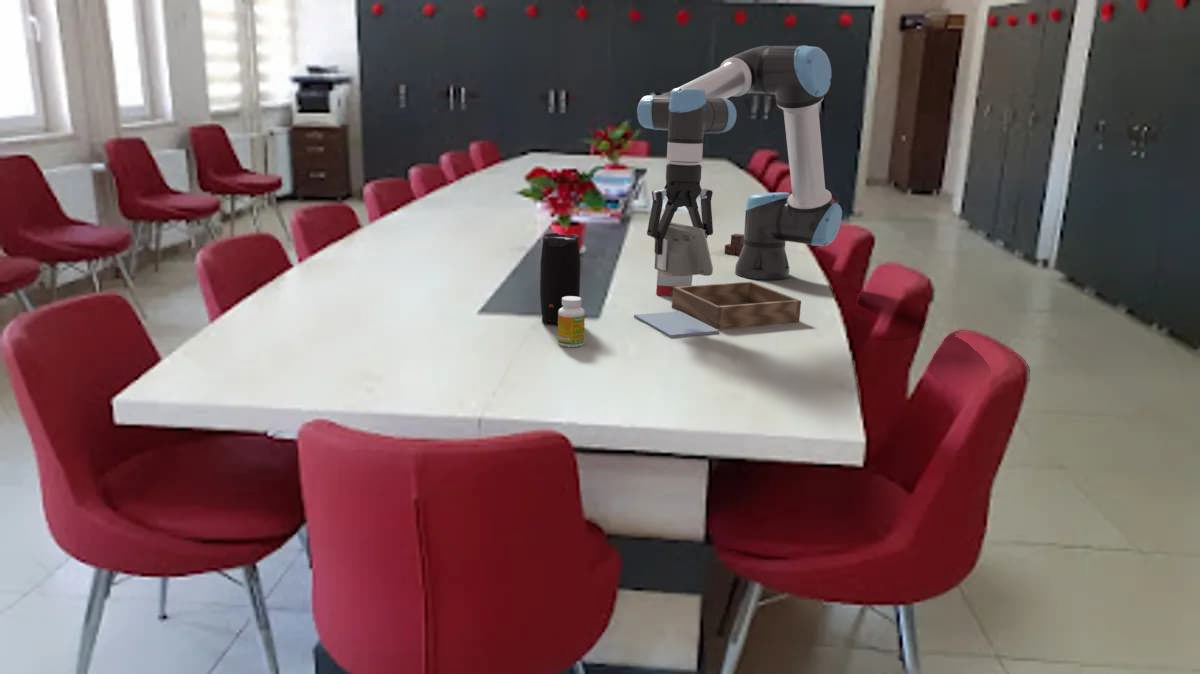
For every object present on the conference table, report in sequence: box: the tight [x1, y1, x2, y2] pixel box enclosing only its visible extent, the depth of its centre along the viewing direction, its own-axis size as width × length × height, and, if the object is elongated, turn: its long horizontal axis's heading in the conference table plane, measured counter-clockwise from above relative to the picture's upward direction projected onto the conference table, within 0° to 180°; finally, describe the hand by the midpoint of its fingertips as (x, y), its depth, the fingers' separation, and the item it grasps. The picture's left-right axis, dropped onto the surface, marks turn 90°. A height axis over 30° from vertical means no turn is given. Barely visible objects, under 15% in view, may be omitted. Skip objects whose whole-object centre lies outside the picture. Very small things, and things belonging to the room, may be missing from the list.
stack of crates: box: [723, 233, 744, 257], centre depth 295 cm, size 15×15×7 cm
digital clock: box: [654, 221, 714, 277], centre depth 204 cm, size 16×9×11 cm, turn 23°
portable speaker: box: [539, 232, 581, 324], centre depth 205 cm, size 9×9×20 cm
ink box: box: [655, 270, 694, 297], centre depth 238 cm, size 9×9×12 cm
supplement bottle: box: [557, 296, 586, 348], centre depth 190 cm, size 5×5×10 cm
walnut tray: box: [671, 281, 802, 330], centre depth 219 cm, size 22×21×5 cm
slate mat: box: [633, 310, 720, 339], centre depth 208 cm, size 12×18×1 cm, turn 23°
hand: (678, 267), depth 205 cm, fingers closed on digital clock, 8 cm apart
